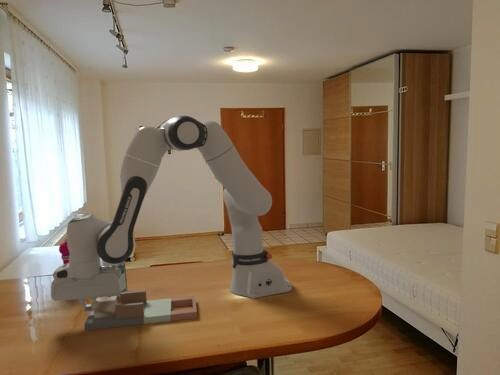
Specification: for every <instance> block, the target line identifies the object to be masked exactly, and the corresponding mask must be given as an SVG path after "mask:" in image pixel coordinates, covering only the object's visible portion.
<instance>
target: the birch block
mask: <svg viewBox="0 0 500 375" xmlns="http://www.w3.org/2000/svg"><path fill="white" fill-rule="evenodd" d="M117 304H118V297H117V296H112V297H109V296H104V297H97V299H96V301H95V303H94V305H93V309H94V318H100V317H109V316H115V314H116V305H117Z"/></svg>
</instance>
